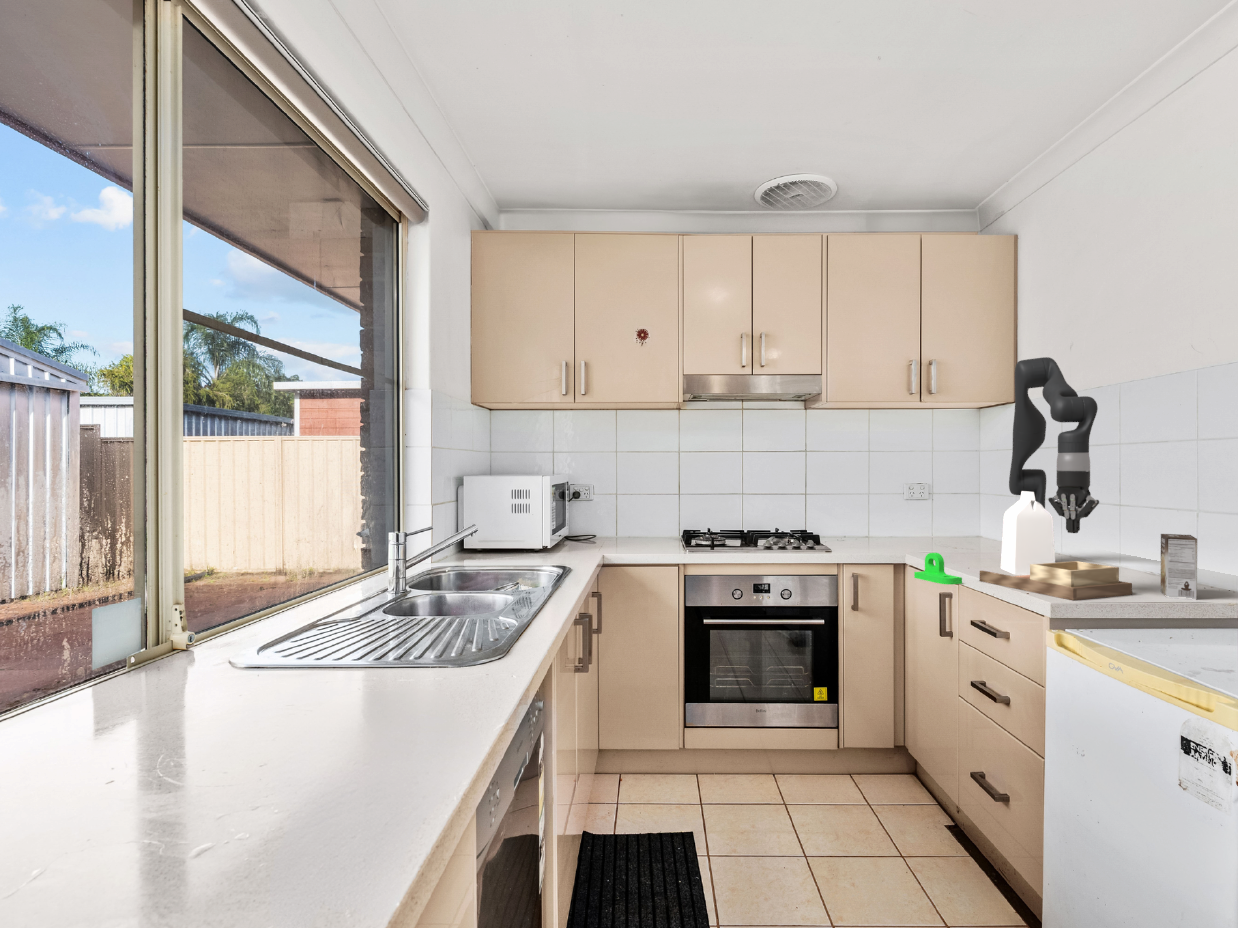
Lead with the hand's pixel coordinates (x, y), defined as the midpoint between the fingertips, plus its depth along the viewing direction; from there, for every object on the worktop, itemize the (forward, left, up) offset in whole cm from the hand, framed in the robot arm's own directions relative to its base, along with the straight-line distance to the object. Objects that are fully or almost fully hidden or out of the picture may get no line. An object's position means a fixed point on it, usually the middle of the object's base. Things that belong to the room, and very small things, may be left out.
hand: (1072, 532), depth 175 cm
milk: (-27, +17, -16) cm, 36 cm away
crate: (-6, 0, -15) cm, 16 cm away
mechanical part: (-25, -22, -17) cm, 37 cm away
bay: (-6, 0, -16) cm, 17 cm away
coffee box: (+13, +21, -16) cm, 30 cm away
